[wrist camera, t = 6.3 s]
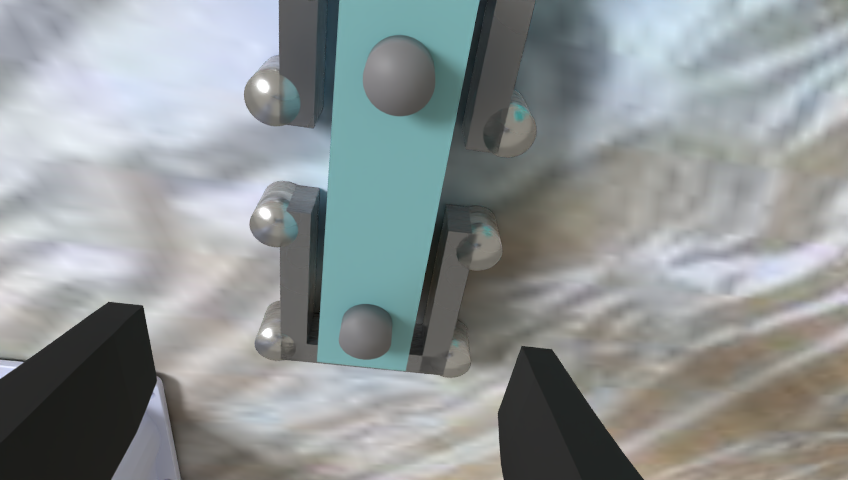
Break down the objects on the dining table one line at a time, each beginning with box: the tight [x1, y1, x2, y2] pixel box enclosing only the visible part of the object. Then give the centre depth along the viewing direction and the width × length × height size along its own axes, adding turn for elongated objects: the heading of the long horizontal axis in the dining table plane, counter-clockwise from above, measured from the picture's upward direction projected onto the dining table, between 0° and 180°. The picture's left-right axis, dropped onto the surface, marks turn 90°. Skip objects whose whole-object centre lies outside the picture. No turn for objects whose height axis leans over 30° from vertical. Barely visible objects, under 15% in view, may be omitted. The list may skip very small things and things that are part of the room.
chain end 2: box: [244, 0, 536, 158], centre depth 15 cm, size 7×9×2 cm
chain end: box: [250, 181, 503, 378], centre depth 20 cm, size 7×9×2 cm
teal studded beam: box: [317, 0, 480, 371], centre depth 16 cm, size 12×3×5 cm, turn 171°
